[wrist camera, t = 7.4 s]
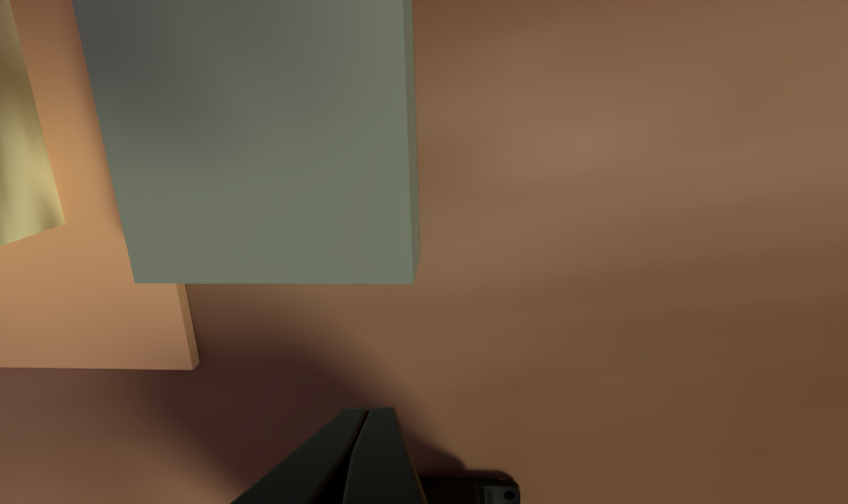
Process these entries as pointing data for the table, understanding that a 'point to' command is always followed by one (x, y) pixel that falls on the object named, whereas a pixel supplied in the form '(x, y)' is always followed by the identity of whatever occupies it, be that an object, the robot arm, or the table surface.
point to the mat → (80, 234)
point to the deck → (259, 137)
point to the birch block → (22, 147)
